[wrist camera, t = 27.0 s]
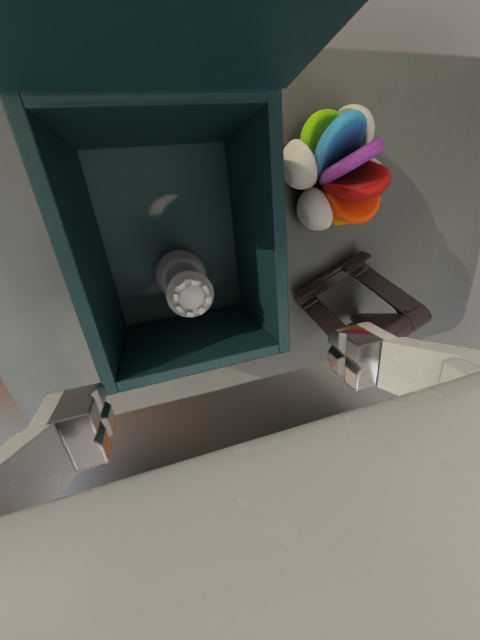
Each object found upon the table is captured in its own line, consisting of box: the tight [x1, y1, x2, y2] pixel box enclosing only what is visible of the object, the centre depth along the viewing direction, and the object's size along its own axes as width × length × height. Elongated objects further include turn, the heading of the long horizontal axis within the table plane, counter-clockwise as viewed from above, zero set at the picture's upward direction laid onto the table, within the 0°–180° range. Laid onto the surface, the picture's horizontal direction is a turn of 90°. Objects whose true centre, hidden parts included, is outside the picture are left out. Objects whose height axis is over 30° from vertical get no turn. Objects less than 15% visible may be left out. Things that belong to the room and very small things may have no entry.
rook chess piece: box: [155, 250, 214, 317], centre depth 22 cm, size 4×4×8 cm
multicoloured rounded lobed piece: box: [283, 104, 391, 231], centre depth 24 cm, size 8×10×7 cm
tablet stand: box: [294, 251, 432, 337], centre depth 29 cm, size 9×8×8 cm
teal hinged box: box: [0, 88, 290, 396], centre depth 20 cm, size 16×13×10 cm
